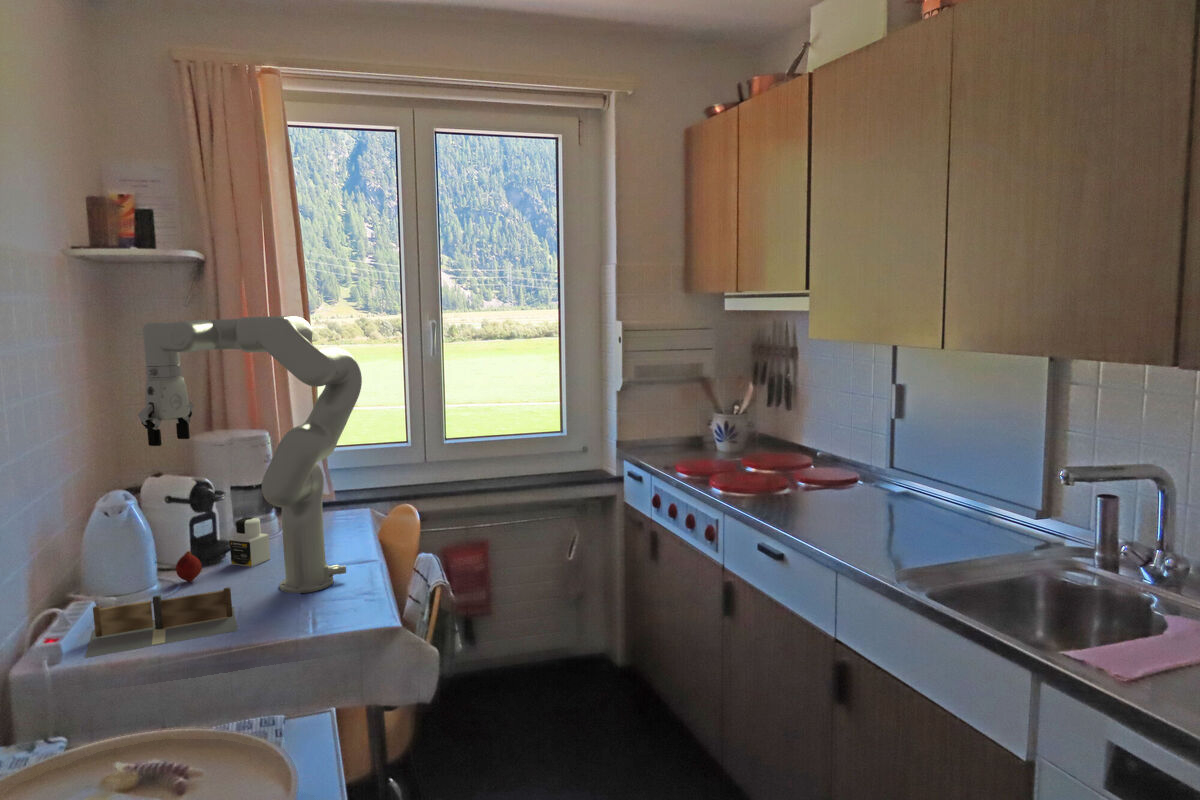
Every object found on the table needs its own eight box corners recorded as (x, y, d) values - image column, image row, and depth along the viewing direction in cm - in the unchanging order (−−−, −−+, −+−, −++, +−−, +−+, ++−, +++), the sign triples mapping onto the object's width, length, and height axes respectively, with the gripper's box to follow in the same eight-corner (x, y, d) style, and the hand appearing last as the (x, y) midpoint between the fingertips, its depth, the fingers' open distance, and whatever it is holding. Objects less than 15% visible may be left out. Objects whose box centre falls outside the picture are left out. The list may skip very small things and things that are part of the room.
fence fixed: (232, 614, 190) (230, 584, 189) (232, 616, 188) (230, 586, 187) (155, 627, 183) (152, 596, 182) (155, 630, 181) (152, 598, 181)
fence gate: (153, 625, 183) (150, 597, 182) (153, 627, 181) (150, 599, 181) (96, 635, 178) (93, 606, 177) (95, 637, 177) (92, 608, 176)
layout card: (233, 608, 194) (233, 606, 194) (237, 632, 180) (237, 630, 180) (92, 632, 182) (92, 630, 182) (84, 659, 168) (84, 657, 168)
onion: (192, 586, 210) (189, 555, 209) (171, 585, 212) (169, 554, 211) (207, 578, 216) (204, 548, 215) (187, 577, 217) (185, 547, 216)
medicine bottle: (230, 564, 227) (227, 521, 226) (250, 556, 234) (247, 514, 232) (251, 567, 225) (247, 523, 223) (271, 559, 231) (267, 516, 230)
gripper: (150, 376, 196) (157, 448, 199) (201, 369, 213) (206, 436, 215) (123, 376, 198) (129, 448, 200) (175, 369, 215) (181, 436, 217)
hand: (169, 442), depth 208 cm, fingers open, 9 cm apart
